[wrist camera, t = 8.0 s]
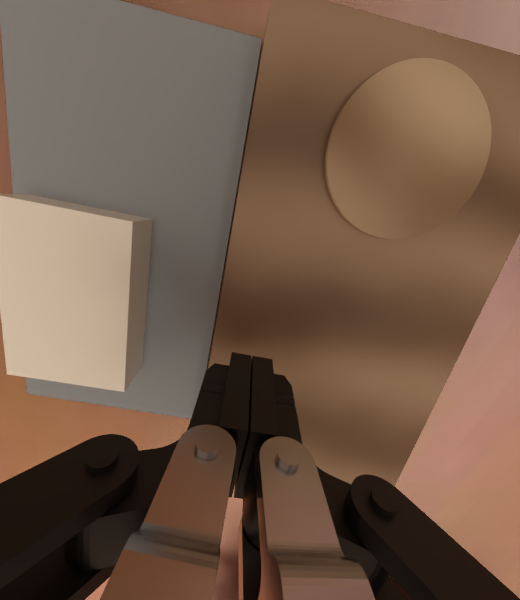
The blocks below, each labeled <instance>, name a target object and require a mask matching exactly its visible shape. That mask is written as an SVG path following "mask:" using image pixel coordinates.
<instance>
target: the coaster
mask: <svg viewBox="0 0 520 600" xmlns="http://www.w3.org/2000/svg"><path fill="white" fill-rule="evenodd" d="M490 147H491V120H490V114H489V110H488V106H487V104H486V101H485V99H484V96H483V94H482V92H481V91H480V89H479V87H478V86H477V84H476V83H475V82H474V81H473V80H472V78H471V77H470V76H469V75H467V74H466V73H465V72H464V71H463V70H461V69H460V68H458V67H456V66H455V65H453V64H451V63H448V62H445V61H443V60H438V59H433V58H415V59H408V60H404V61H401V62H397V63H395V64H393V65H390V66H388V67H386V68H384V69H382V70H381V71H379V72H378V73H376V74H374V75H373V76H372V77H371V78H369V79H368V80H367V81H366V82H364V83H363V84H362V85H361V87H360V88H359V89H358V90H357V91H356V92H355V93H354V94H353V95H352V96H351V97H350V98H349V100H348V101H347V102H346V104H345V105H344V106H343V108H342V109H341V111H340V113H339V114H338V116H337V118H336V120H335V122H334V124H333V126H332V128H331V131H330V134H329V137H328V140H327V145H326V150H325V159H324V174H325V181H326V186H327V189H328V193H329V196H330V198H331V200H332V202H333V204H334V206H335V208H336V209H337V211H338V212H339V214H340V215H341V216H342V217H343V218H344V219H345V220H346V221H347V222H348V223H349V224H350V225H352V226H353V227H355V228H356V229H358V230H359V231H362V232H364V233H366V234H369V235H372V236H376V237H379V238H385V239H407V238H412V237H416V236H420V235H422V234H425V233H428V232H430V231H432V230H434V229H436V228H438V227H439V226H441V225H442V224H444V223H445V222H447V221H448V220H449V219H450V218H451V217H453V216H454V215H455V214H456V213H457V212H458V211H459V210H460V209H461V208H462V207H463V206H464V205H465V203H466V202H467V201H468V200H469V198H470V197H471V196H472V194H473V192H474V191H475V189H476V188H477V186H478V184H479V182H480V180H481V178H482V176H483V173H484V170H485V168H486V165H487V161H488V157H489V153H490Z"/></svg>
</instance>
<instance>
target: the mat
mask: <svg viewBox="0 0 520 600" xmlns="http://www.w3.org/2000/svg"><path fill="white" fill-rule="evenodd" d="M0 25H1V39H2V52H3V66H4V80H5V94H6V108H7V121H8V135H9V149H10V163H11V176H12V190H13V194H21V195H35V196H40V197H45V198H50V199H55V200H60V201H65V202H70V203H75V204H80V205H85V206H90V207H95V208H100V209H105V210H110V211H115V212H120V213H125V214H130V215H135V216H140V217H145V218H150V219H153V224H152V238H151V252H150V265H149V279H148V293H147V307H146V321H145V335H144V349H143V363H142V368H141V369H140V370H139V372H138V373H137V375H136V376H135V377H134V379H133V380H132V382H131V383H130V385H129V386H128V387H127V389H126V390H125V392H121V391H114V390H107V389H101V388H94V387H88V386H81V385H74V384H68V383H61V382H55V381H48V380H42V379H35V378H28V377H26V383H27V394H32V395H39V396H45V397H52V398H58V399H65V400H71V401H78V402H84V403H91V404H97V405H104V406H110V407H117V408H123V409H130V410H136V411H143V412H149V413H156V414H162V415H169V416H175V417H182V418H188V419H191V418H192V414H193V411H194V408H195V405H196V401H197V398H198V395H199V392H200V389H201V385H202V383H203V379H204V376H205V372H206V370H207V366H208V360H209V354H210V348H211V342H212V337H213V331H214V325H215V319H216V313H217V307H218V301H219V295H220V289H221V283H222V277H223V271H224V265H225V259H226V253H227V248H228V242H229V236H230V230H231V224H232V218H233V212H234V206H235V200H236V194H237V188H238V182H239V176H240V170H241V164H242V158H243V153H244V147H245V141H246V135H247V129H248V123H249V117H250V111H251V105H252V99H253V93H254V87H255V81H256V75H257V69H258V63H259V58H260V52H261V46H262V38H259V37H255V36H251V35H248V34H244V33H240V32H236V31H233V30H229V29H225V28H221V27H218V26H214V25H210V24H206V23H203V22H199V21H195V20H191V19H188V18H184V17H180V16H176V15H173V14H169V13H165V12H161V11H158V10H154V9H150V8H147V7H143V6H139V5H135V4H132V3H128V2H124V1H120V0H0Z"/></svg>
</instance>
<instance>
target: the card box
mask: <svg viewBox="0 0 520 600" xmlns="http://www.w3.org/2000/svg"><path fill="white" fill-rule="evenodd" d="M152 224H153V219H150V218H145V217H140V216H135V215H130V214H125V213H120V212H115V211H110V210H105V209H100V208H95V207H90V206H85V205H80V204H75V203H70V202H65V201H60V200H55V199H50V198H45V197H40V196H35V195H21V194H0V313H1V322H2V332H3V341H4V350H5V359H6V369H7V374H9V375H15V376H22V377H28V378H35V379H42V380H48V381H55V382H61V383H68V384H74V385H81V386H88V387H94V388H101V389H107V390H114V391H121V392H125V390H126V389H127V387H128V386H129V385H130V383H131V382H132V380H133V379H134V377H135V376H136V375H137V373H138V372H139V370H140V369H141V368H142V363H143V349H144V335H145V321H146V307H147V293H148V279H149V265H150V252H151V238H152Z"/></svg>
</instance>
